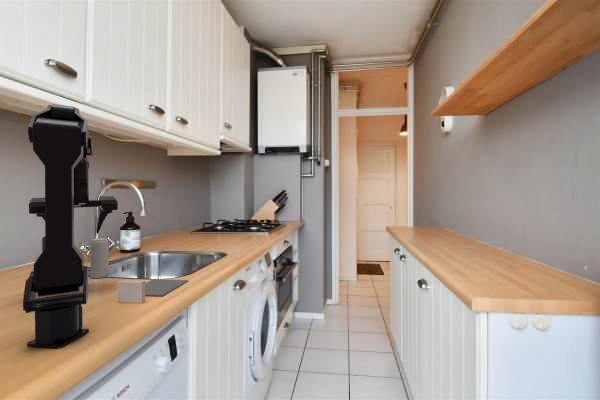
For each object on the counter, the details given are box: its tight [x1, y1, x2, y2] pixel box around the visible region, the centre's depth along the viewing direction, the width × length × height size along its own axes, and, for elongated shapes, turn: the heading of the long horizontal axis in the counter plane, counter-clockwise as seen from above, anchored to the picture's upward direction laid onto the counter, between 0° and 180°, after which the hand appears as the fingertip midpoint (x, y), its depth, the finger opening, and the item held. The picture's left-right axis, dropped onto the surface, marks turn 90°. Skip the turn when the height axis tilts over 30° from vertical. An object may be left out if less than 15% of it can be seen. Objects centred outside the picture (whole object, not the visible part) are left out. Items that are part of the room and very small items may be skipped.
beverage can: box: [89, 237, 110, 279], centre depth 98 cm, size 5×5×12 cm
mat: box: [145, 278, 189, 298], centre depth 86 cm, size 14×11×1 cm
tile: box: [117, 279, 146, 304], centre depth 75 cm, size 2×6×5 cm, turn 84°
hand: (77, 234), depth 84 cm, fingers open, 9 cm apart
